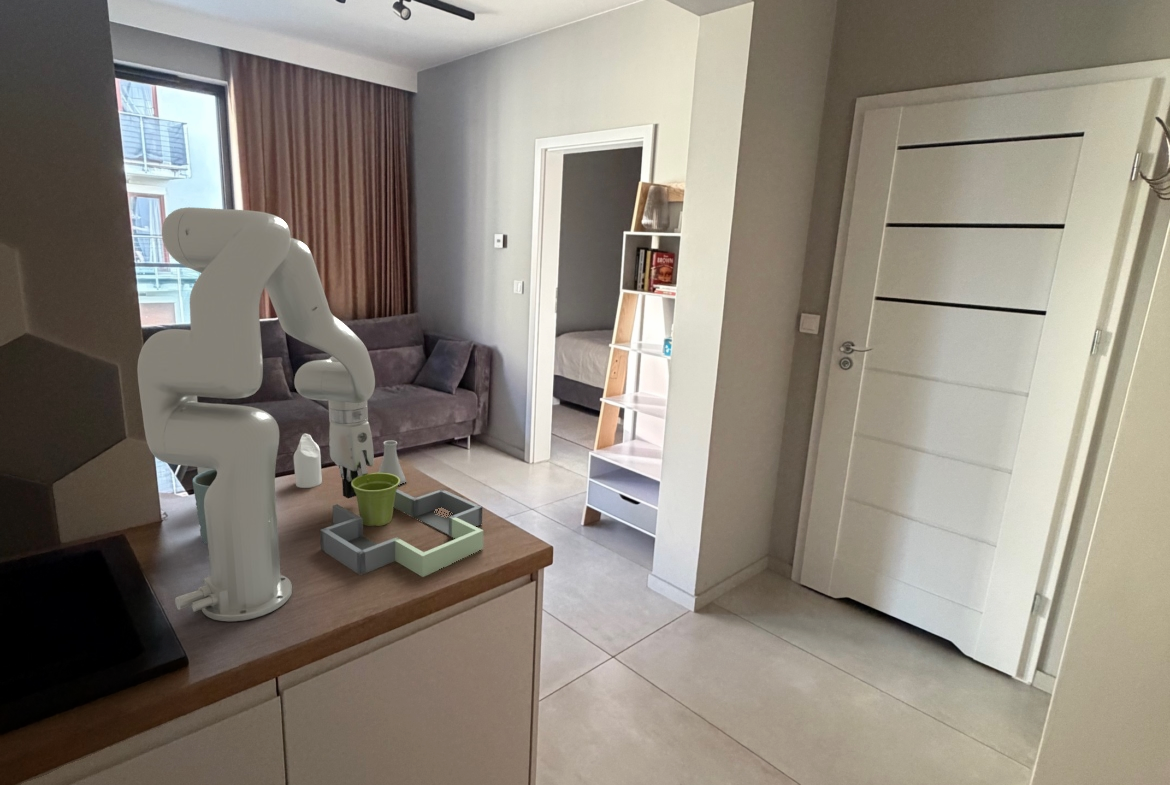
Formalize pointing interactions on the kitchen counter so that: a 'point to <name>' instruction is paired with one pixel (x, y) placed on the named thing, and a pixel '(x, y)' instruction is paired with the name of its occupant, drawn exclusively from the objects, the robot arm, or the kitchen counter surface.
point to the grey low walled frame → (367, 556)
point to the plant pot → (376, 497)
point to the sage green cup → (202, 497)
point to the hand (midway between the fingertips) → (351, 495)
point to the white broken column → (307, 463)
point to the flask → (391, 461)
